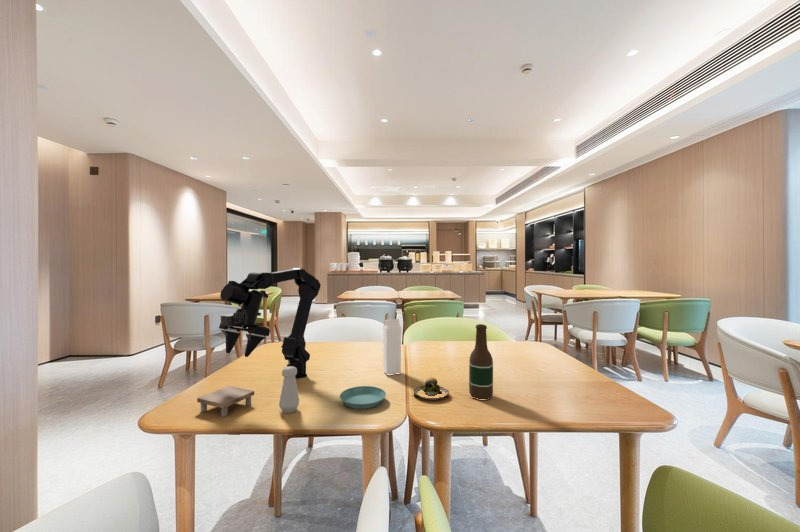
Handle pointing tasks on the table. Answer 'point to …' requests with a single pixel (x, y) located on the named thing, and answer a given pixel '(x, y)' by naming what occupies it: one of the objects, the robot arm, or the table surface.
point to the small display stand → (225, 398)
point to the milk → (392, 346)
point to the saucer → (362, 397)
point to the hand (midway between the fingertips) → (236, 354)
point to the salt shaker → (289, 391)
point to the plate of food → (431, 388)
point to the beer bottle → (481, 367)
